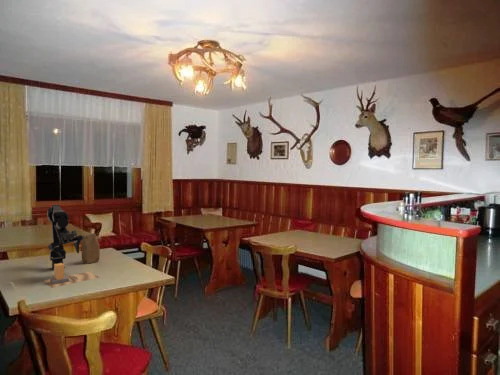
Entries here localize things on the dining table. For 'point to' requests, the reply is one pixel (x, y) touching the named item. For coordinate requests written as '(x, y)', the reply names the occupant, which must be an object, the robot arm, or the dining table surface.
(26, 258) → the dining table surface
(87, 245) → the bread loaf
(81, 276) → the board
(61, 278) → the sanding block
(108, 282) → the dining table surface
